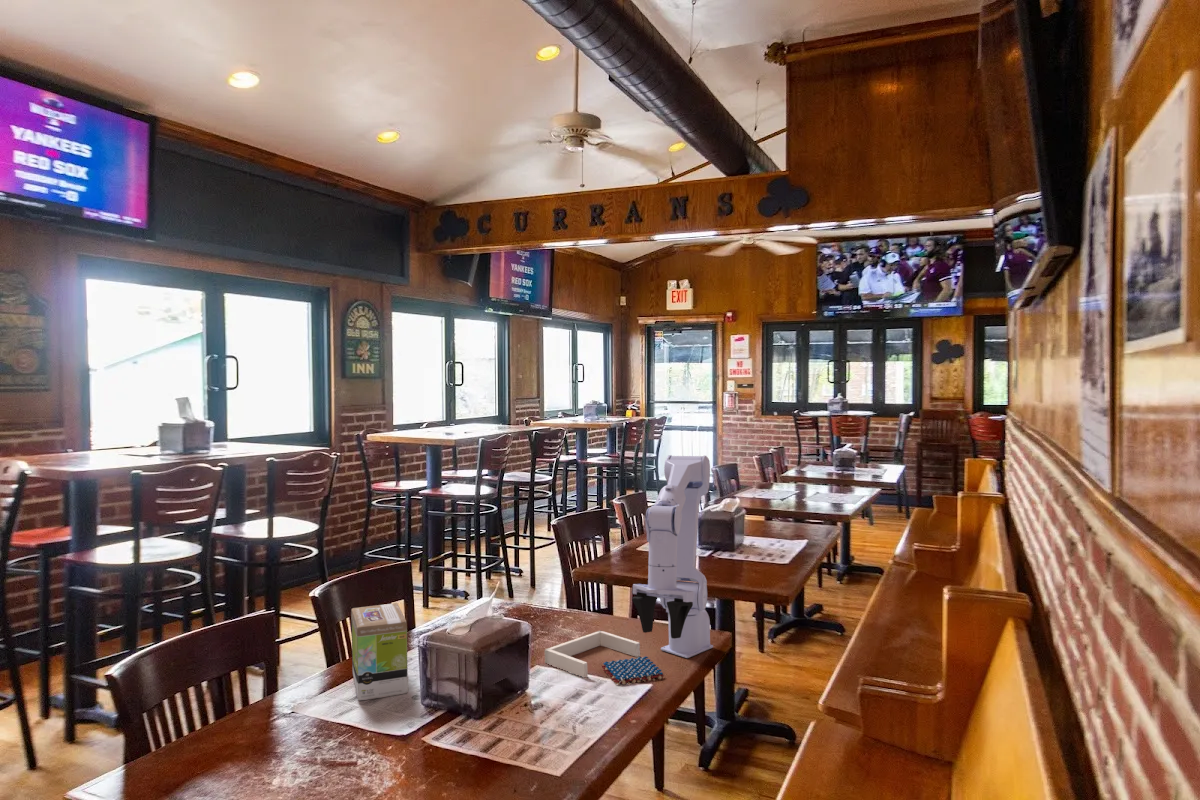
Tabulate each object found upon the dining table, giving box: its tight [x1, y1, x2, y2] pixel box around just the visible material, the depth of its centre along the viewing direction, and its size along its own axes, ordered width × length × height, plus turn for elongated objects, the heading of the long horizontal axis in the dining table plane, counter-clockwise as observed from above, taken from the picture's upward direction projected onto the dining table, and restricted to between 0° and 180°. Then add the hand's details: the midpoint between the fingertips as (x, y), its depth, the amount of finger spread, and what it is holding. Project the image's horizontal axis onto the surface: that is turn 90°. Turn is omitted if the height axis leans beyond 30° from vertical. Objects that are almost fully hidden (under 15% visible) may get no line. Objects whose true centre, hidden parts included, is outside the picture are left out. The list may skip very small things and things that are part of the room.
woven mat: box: [601, 656, 664, 685], centre depth 163 cm, size 10×11×2 cm
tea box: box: [350, 602, 409, 701], centre depth 160 cm, size 15×10×15 cm, turn 22°
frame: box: [544, 630, 641, 678], centre depth 171 cm, size 17×12×3 cm
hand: (661, 634), depth 156 cm, fingers open, 7 cm apart
